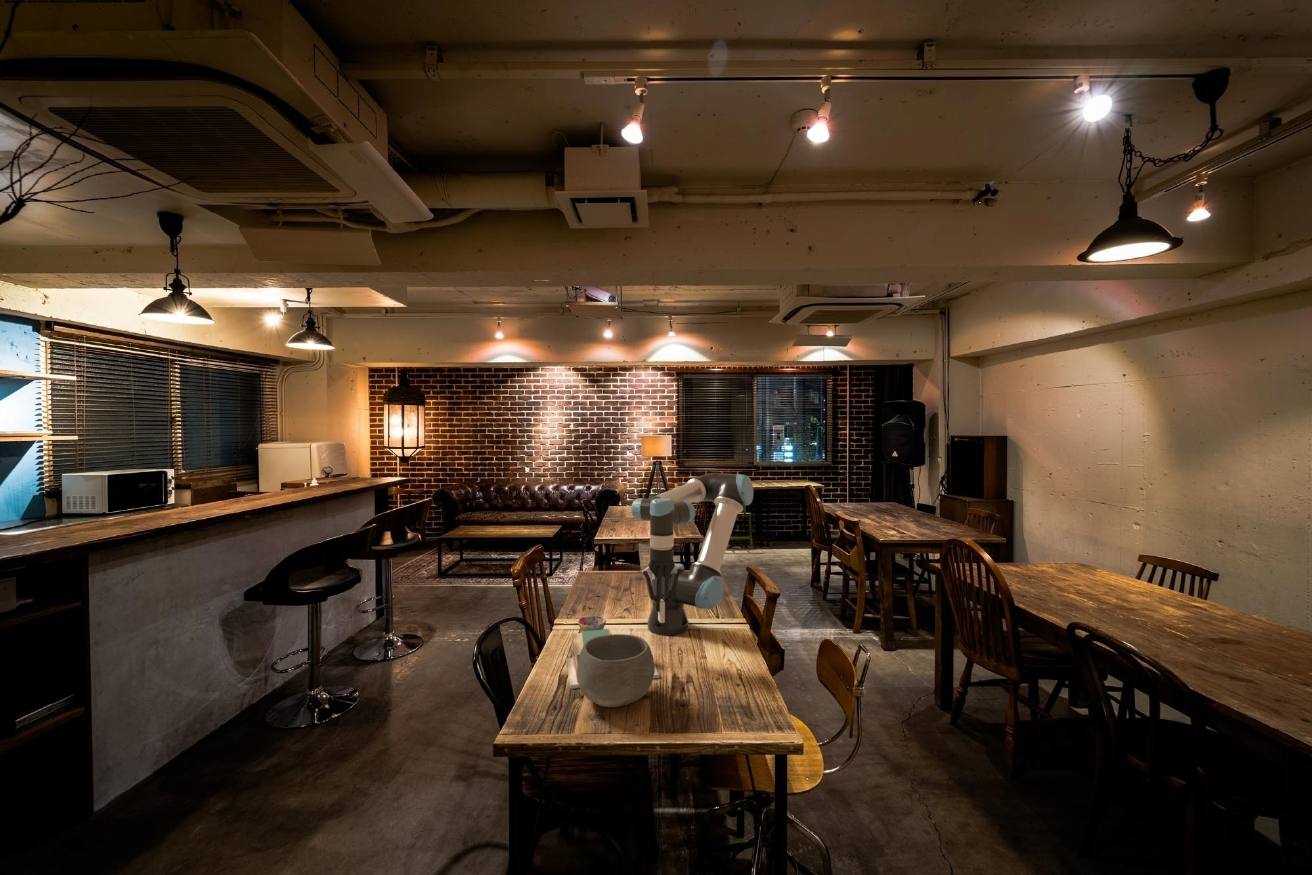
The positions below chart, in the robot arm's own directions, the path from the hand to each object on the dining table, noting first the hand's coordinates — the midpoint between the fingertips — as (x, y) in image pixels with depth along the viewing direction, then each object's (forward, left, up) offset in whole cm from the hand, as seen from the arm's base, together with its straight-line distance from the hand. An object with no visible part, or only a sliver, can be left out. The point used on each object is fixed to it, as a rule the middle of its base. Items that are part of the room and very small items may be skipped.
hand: (661, 621), depth 166 cm
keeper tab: (+22, +7, -2) cm, 23 cm away
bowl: (+18, +21, -13) cm, 31 cm away
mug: (+20, -12, -13) cm, 27 cm away
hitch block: (+17, +3, -12) cm, 21 cm away
